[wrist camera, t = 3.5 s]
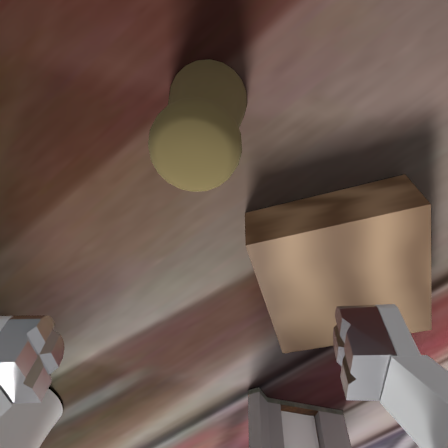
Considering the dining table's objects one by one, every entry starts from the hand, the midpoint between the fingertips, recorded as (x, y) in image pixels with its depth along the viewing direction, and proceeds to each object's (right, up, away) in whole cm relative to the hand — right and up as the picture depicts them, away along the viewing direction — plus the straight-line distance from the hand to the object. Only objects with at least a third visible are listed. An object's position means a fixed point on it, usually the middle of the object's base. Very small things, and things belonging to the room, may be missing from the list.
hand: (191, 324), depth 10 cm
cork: (0, +12, +18) cm, 22 cm away
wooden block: (+12, 0, +25) cm, 28 cm away
